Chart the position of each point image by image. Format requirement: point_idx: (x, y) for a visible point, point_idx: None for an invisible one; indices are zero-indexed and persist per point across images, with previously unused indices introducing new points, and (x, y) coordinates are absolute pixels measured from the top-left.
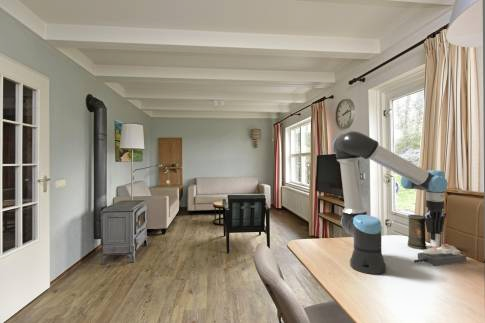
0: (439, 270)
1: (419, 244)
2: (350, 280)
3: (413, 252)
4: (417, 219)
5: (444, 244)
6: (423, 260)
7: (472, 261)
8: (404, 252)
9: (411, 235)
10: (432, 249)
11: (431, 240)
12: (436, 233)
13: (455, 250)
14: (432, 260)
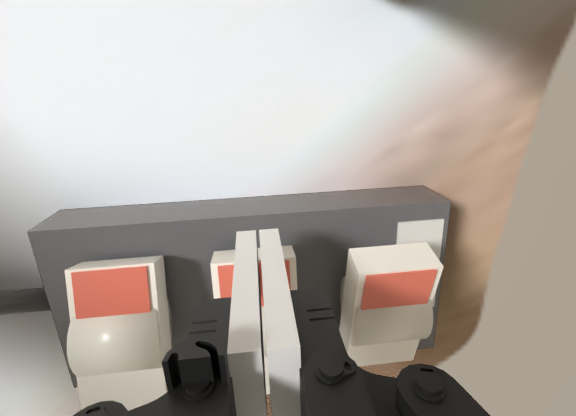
0: (60, 404)
1: None
2: None
3: (168, 39)
4: None
5: (390, 280)
6: (20, 312)
7: (454, 319)
8: (57, 9)
9: None
10: (93, 373)
11: (235, 273)
12: (299, 403)
13: (378, 354)
14: None
